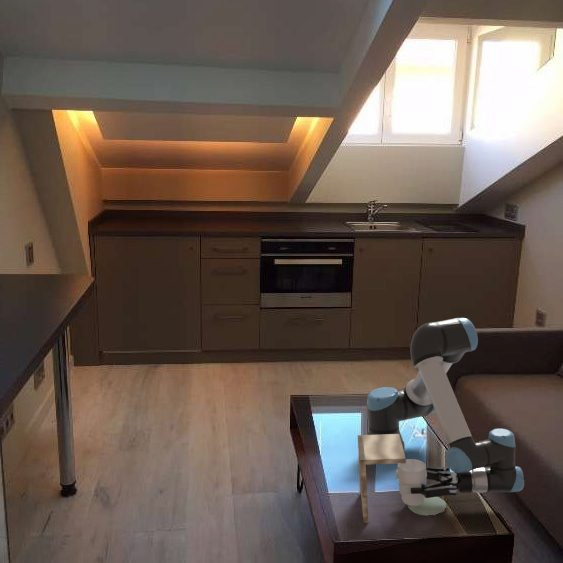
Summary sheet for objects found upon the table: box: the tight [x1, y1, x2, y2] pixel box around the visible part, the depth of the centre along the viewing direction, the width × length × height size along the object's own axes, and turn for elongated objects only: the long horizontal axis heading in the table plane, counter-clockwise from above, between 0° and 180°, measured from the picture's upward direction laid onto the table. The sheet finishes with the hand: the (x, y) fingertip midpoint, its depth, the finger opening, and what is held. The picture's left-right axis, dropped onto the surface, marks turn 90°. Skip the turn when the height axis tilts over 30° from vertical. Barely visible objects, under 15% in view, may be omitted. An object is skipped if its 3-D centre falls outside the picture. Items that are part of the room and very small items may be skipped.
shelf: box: [357, 434, 406, 524], centre depth 197 cm, size 14×18×20 cm
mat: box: [407, 496, 447, 517], centre depth 197 cm, size 12×12×1 cm
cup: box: [397, 458, 427, 506], centre depth 196 cm, size 9×9×12 cm
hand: (397, 481), depth 196 cm, fingers closed on cup, 9 cm apart
